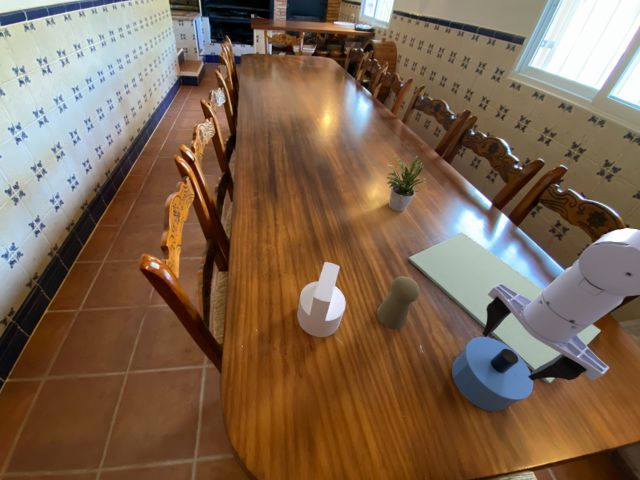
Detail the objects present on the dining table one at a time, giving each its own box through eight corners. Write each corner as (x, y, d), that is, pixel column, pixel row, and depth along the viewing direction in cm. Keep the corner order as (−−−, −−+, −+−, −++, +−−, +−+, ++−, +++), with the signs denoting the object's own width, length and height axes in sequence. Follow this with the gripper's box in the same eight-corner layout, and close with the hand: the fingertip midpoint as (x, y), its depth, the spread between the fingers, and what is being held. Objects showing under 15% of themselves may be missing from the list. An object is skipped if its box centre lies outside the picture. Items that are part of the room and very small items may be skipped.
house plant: (378, 186, 102) (392, 142, 91) (419, 198, 98) (439, 153, 88) (370, 209, 91) (384, 162, 81) (416, 223, 88) (437, 176, 77)
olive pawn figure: (409, 329, 61) (429, 298, 54) (380, 328, 61) (396, 296, 54) (401, 304, 65) (418, 272, 58) (374, 302, 65) (388, 270, 58)
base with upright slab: (335, 343, 57) (347, 308, 50) (291, 328, 59) (296, 292, 52) (343, 305, 64) (355, 270, 56) (304, 293, 66) (310, 256, 58)
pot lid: (541, 381, 49) (560, 369, 46) (507, 415, 45) (525, 404, 42) (485, 330, 56) (498, 317, 53) (450, 356, 52) (462, 342, 49)
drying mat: (598, 332, 64) (601, 330, 63) (547, 384, 54) (550, 382, 54) (460, 234, 85) (462, 232, 85) (407, 259, 76) (408, 257, 76)
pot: (520, 393, 53) (540, 379, 49) (488, 423, 49) (508, 411, 45) (472, 346, 59) (487, 331, 55) (440, 370, 55) (454, 355, 51)
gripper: (648, 339, 36) (570, 383, 45) (527, 257, 45) (482, 307, 54) (626, 368, 33) (547, 409, 42) (501, 274, 42) (458, 323, 51)
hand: (509, 353), depth 47 cm, fingers open, 7 cm apart
